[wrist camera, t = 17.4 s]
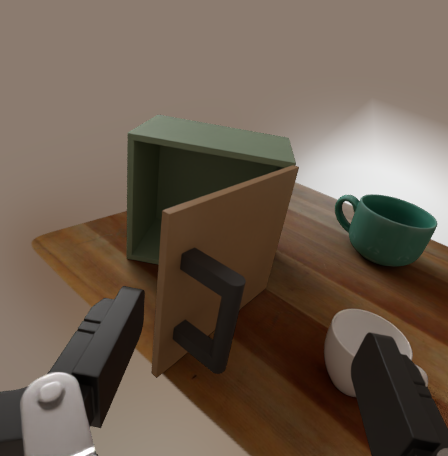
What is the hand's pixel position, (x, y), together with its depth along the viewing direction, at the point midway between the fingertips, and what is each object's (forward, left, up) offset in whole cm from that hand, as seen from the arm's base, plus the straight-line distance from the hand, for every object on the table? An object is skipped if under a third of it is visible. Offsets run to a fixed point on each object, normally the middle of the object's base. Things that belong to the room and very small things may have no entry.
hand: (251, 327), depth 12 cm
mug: (+16, +50, -21) cm, 57 cm away
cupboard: (-12, +35, -21) cm, 43 cm away
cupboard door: (-2, +19, -21) cm, 28 cm away
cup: (+12, +18, -21) cm, 30 cm away
